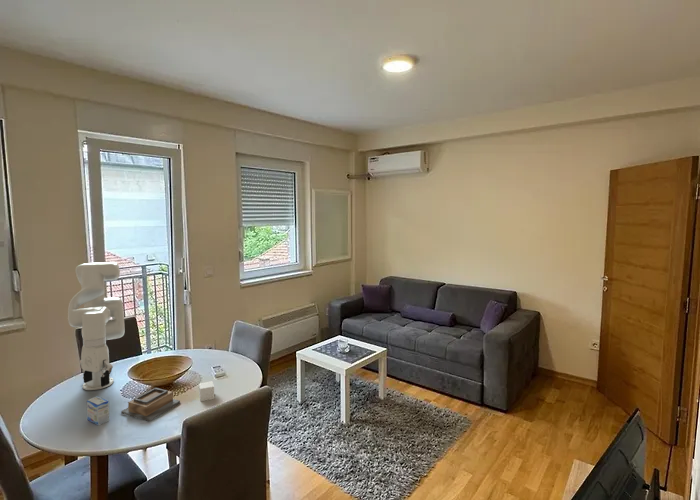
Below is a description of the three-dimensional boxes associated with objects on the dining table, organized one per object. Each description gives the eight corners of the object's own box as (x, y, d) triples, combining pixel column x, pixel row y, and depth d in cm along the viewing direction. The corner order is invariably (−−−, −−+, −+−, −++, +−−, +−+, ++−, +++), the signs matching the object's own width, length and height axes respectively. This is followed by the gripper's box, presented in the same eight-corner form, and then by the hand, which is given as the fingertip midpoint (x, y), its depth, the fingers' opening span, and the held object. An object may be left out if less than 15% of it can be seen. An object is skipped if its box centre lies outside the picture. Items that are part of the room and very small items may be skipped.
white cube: (200, 401, 170) (200, 388, 169) (199, 395, 175) (199, 383, 175) (214, 398, 172) (214, 386, 172) (212, 393, 178) (212, 381, 177)
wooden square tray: (121, 413, 158) (120, 399, 158) (152, 396, 173) (152, 383, 173) (150, 421, 153) (149, 407, 152) (180, 403, 168) (179, 390, 167)
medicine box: (87, 420, 153) (86, 400, 152) (98, 415, 157) (97, 395, 156) (98, 425, 149) (97, 405, 148) (109, 420, 153) (108, 400, 152)
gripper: (70, 342, 149) (72, 383, 150) (101, 347, 143) (103, 390, 145) (88, 336, 156) (90, 376, 157) (119, 341, 150) (120, 382, 152)
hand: (96, 383), depth 151 cm, fingers open, 9 cm apart
